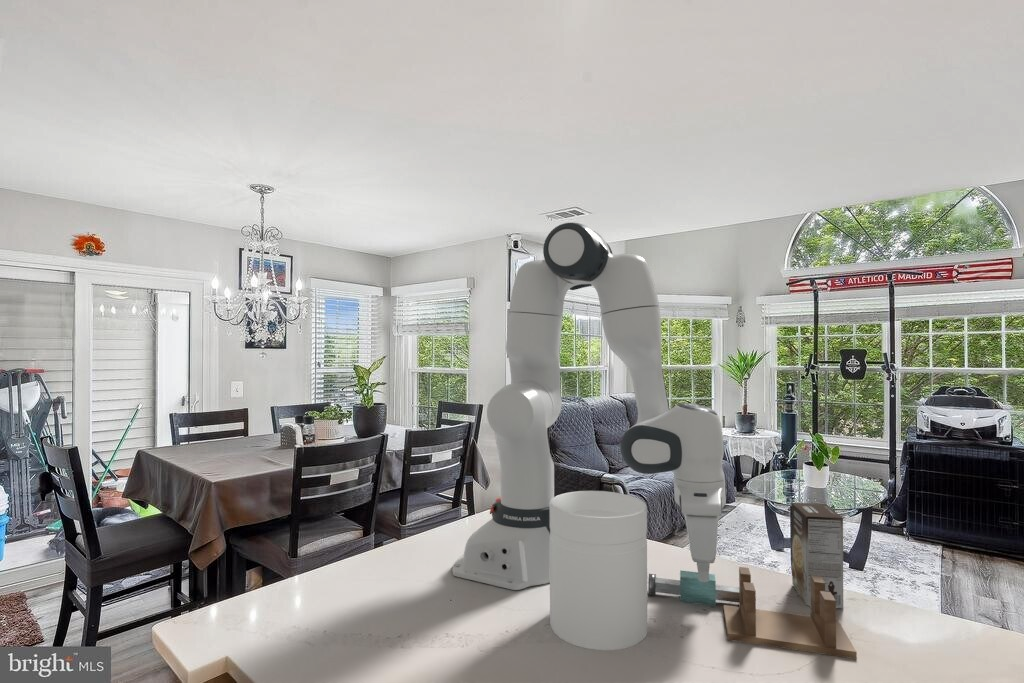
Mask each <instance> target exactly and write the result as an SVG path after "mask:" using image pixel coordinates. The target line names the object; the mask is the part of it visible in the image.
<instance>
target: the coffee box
mask: <svg viewBox="0 0 1024 683" xmlns="http://www.w3.org/2000/svg"><path fill="white" fill-rule="evenodd" d="M791 570H792V571H791V576H792V577H791V578H792V580H791V581H792V586H793V587H794V589H795V591H797V593H798V595H799V597H800V598H801V600H803V602H804V604H805V605H806V606H807V607H809V606H810V607H811V577H810V575H818V576H821V577H822V579H823V581H824V582H825V592H831V594H832V595H833V597H834V599H835V600H836V609H844V518H843V517H842V516H841V515H840V514H839V513H837V512H836V511H835V510H834V509H833V508H831V507H830V505H828V504H827V503H814V502H813V503H811V502H791Z"/></svg>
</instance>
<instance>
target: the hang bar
mask: <svg viewBox="0 0 1024 683" xmlns="http://www.w3.org/2000/svg"><path fill="white" fill-rule="evenodd" d="M679 577H680V578H679V579H673V578H672V579H670V578H662V577H657V574H655V573H648V579H647V593H648V595H651V596H656V595H657V593H660V594H665V595H666V594H668V595H675V596H680V597H679V598H680V600H679V601H680V602H684V603H691V604H698V605H706V606H712V607H713V606H716V605H717V602H716V601H722V602H729V603H737V604H739V586H732V585H731V586H729V585H721V584H716V582H717V581H716V574H714V573H709V581H708V582H700V581H699V580H698V571H688V570H681V569H680V572H679Z"/></svg>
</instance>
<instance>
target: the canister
mask: <svg viewBox="0 0 1024 683" xmlns="http://www.w3.org/2000/svg"><path fill="white" fill-rule="evenodd" d="M647 534H648V507H647V503H646V502H645V501H644V500H642V499H641V498H638V497H635V496H633V495H629V494H625V493H620V492H614V491H606V490H578V491H577V490H575V491H570V492H565V493H560V494H558V495H556V496H555V495H554V497H553V498H552V499H551V500H550V582H549V625H550V627H551V629H552V630H551V631H553V633H554V634H556V636H557V637H559V638H560V639H561V640H563V641H565V642H567V643H569V644H571V645H573V646H576V647H579V648H584V649H587V650H595V651H604V652H605V651H616V650H617V651H618V650H624V649H628V648H631V647H633V646H636V645H637V644H639V643H640V642H642V641H643V640H644V639H645V637H646V636H647V634H648V633H649V632H648V624H649V623H648V541H647Z"/></svg>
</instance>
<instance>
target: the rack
mask: <svg viewBox="0 0 1024 683" xmlns="http://www.w3.org/2000/svg"><path fill="white" fill-rule="evenodd" d="M738 575H739V578H738V582H739V583H738V584H739V586H738V587H739V603H738V604H739V606H736V605H728V604H723V615H724V623H725V628H726V633H727V640H728V641H734V642H741V643H747V644H754V645H755V644H756V645H759V646H761V645H762V646H768V647H769V646H770V647H774V648H781V649H787V650H794V651H801V652H809V653H815V654H823V655H828V656H829V655H830V656H836V657H841V658H843V657H844V658H849V659H858V658H857V657H858V655H857V650H856V648H855V646H854V645H853V643H852V642H851V639H850V638H849V637H848V635H847V633H846V631H845V629H844V628H843V626H842V624H841V623H840V620H839V619H837V608H836V600H835V599H834V597H833V595H832V594H831V592H825V582H824V581H823V579H822V577H821V576H818V575H810V577H811V606H810V615H804V614H797V613H796V614H795V613H790V612H789V613H787V612H781V611H774V610H766V609H765V610H764V609H757V608H756V607H757V606H756V604H757V603H756V598H757V596H756V588H755V585H754V583H753V582H752V579H751V578H752V577H751V576H752V575H751V571H750V568H749V567H745V566H739V567H738Z"/></svg>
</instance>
